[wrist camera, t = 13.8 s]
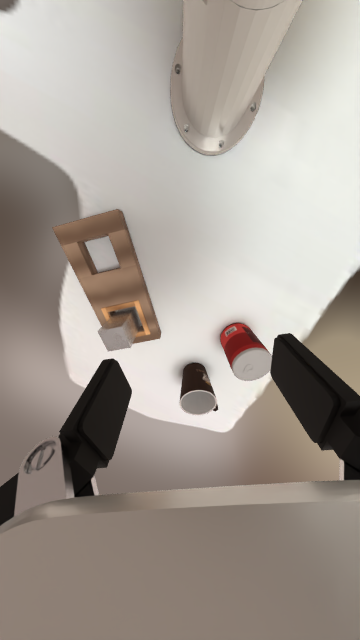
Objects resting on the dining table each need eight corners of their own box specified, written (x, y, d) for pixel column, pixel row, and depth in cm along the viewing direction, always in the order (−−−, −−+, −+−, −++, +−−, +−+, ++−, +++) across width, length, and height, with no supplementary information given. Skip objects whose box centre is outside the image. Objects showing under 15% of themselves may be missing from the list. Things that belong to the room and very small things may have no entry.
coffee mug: (175, 364, 44) (174, 395, 35) (204, 356, 43) (211, 386, 34) (187, 391, 49) (189, 425, 40) (215, 384, 48) (223, 417, 39)
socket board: (61, 228, 30) (50, 227, 27) (122, 211, 28) (116, 208, 26) (116, 341, 41) (112, 348, 38) (161, 332, 40) (160, 339, 37)
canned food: (216, 346, 42) (227, 379, 32) (224, 319, 38) (240, 347, 28) (243, 350, 42) (263, 383, 32) (254, 324, 39) (280, 352, 29)
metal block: (117, 309, 37) (97, 331, 28) (135, 305, 37) (121, 326, 28) (124, 326, 39) (108, 351, 30) (142, 322, 38) (130, 347, 30)
